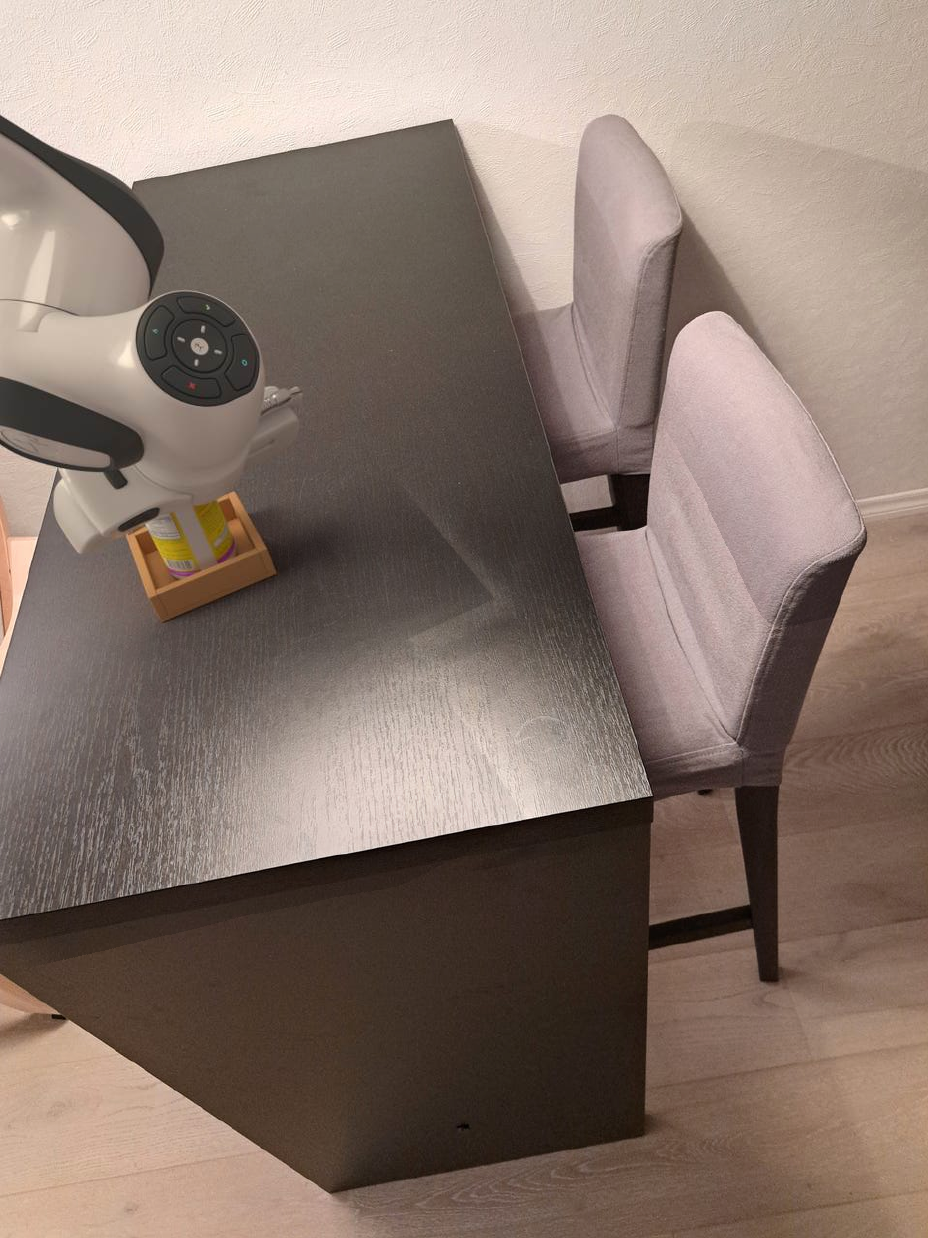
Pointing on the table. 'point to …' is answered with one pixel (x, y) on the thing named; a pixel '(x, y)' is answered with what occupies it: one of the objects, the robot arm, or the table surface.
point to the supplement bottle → (193, 539)
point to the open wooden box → (212, 582)
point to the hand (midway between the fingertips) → (179, 498)
